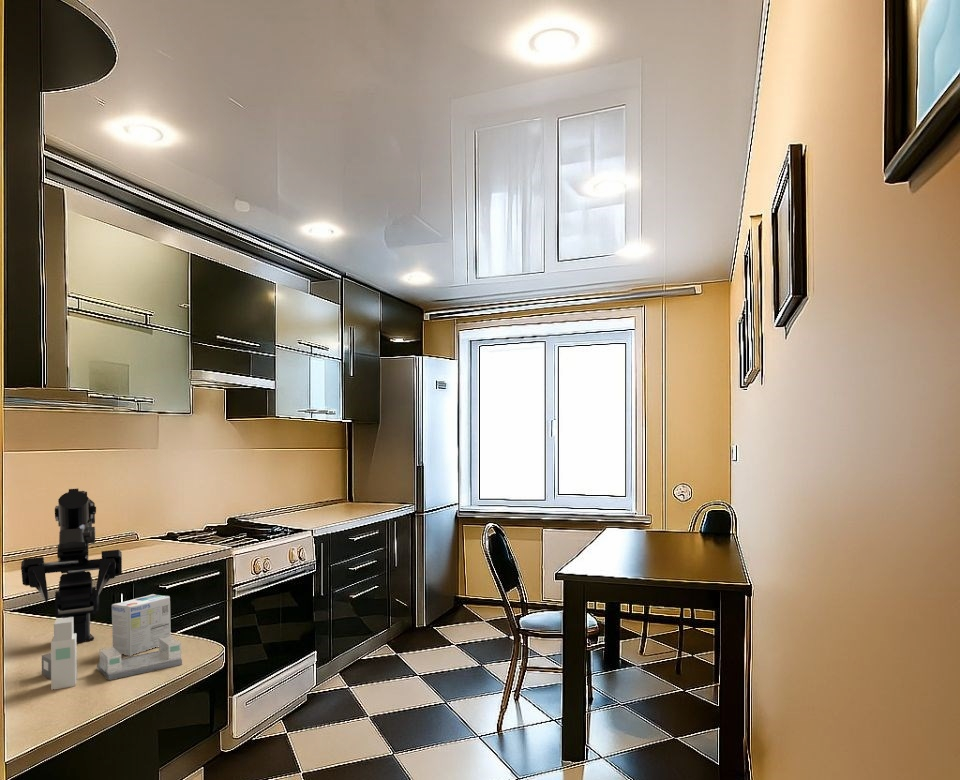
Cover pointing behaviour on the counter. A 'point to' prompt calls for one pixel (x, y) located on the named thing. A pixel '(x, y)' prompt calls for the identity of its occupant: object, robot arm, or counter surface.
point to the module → (64, 654)
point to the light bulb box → (140, 623)
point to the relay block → (46, 665)
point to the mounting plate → (140, 660)
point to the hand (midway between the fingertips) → (72, 597)
